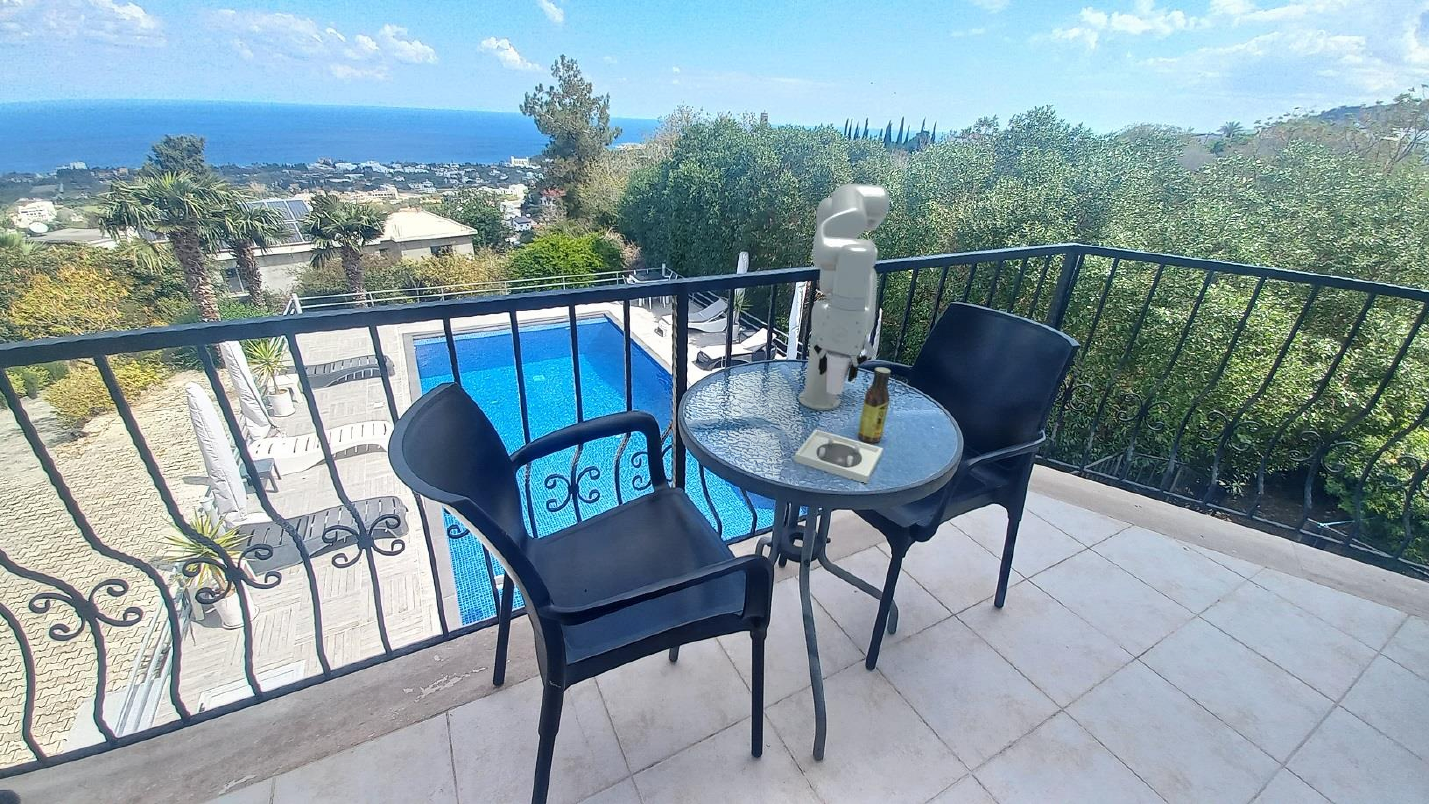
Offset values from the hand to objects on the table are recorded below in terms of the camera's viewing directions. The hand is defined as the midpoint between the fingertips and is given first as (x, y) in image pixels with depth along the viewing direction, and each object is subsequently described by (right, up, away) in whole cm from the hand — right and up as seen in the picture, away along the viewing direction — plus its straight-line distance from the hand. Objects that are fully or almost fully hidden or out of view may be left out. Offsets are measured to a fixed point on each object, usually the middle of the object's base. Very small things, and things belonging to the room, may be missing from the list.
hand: (836, 375), depth 127 cm
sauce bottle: (+13, -16, +18) cm, 28 cm away
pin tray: (+2, -20, +8) cm, 22 cm away
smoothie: (0, -4, +2) cm, 4 cm away
